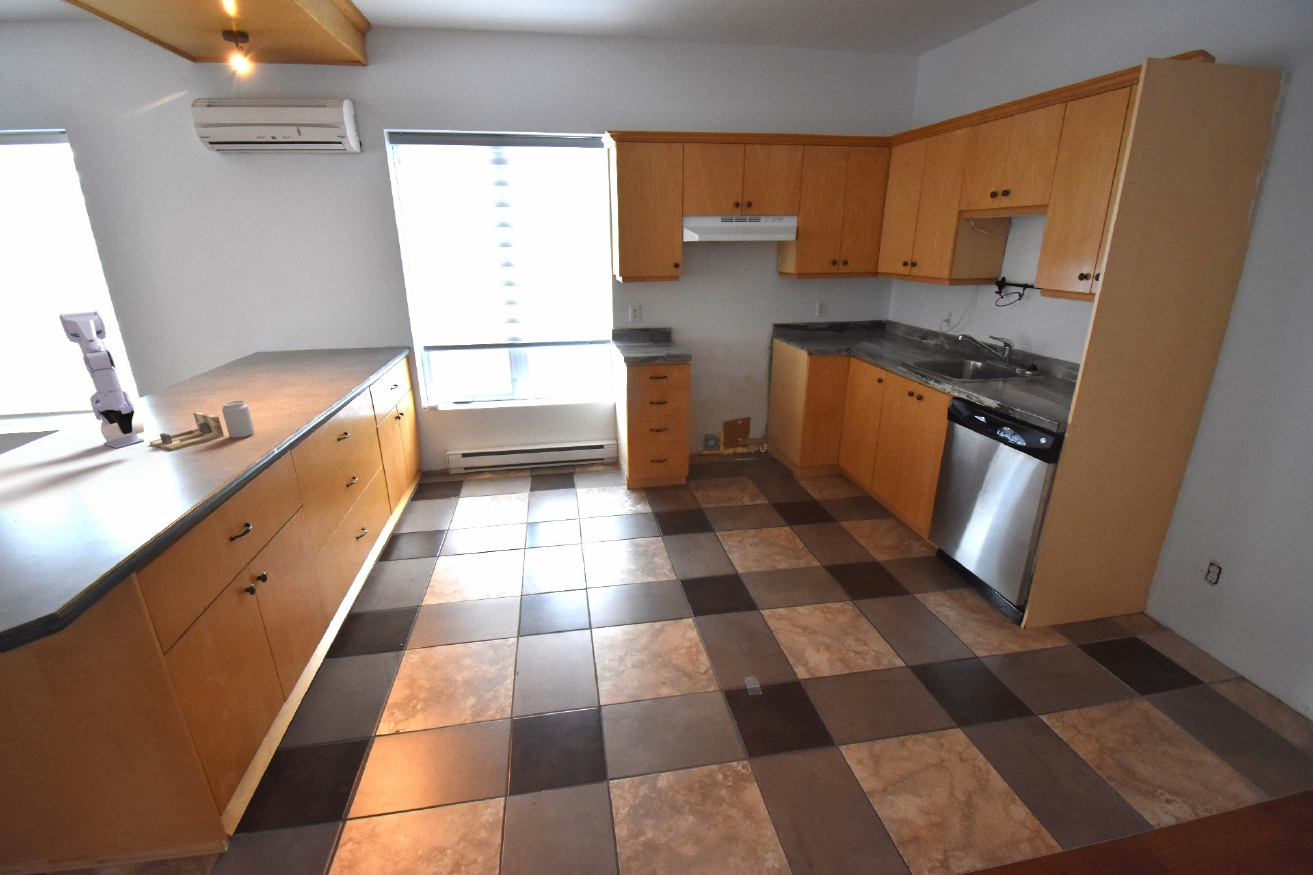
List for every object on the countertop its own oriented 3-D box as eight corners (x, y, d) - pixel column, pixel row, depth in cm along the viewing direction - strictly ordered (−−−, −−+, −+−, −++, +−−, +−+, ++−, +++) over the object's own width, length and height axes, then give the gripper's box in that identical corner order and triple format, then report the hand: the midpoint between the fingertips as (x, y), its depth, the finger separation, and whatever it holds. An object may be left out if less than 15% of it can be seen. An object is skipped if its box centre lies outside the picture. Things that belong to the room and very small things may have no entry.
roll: (104, 439, 186) (99, 425, 185) (138, 431, 194) (133, 417, 192) (111, 442, 184) (106, 427, 183) (145, 433, 192) (141, 419, 190)
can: (242, 439, 204) (233, 406, 199) (224, 438, 205) (214, 405, 201) (260, 432, 210) (251, 400, 206) (242, 431, 212) (233, 399, 208)
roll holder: (150, 444, 201) (143, 425, 199) (202, 430, 214) (196, 411, 212) (171, 450, 195) (165, 430, 192) (224, 435, 208) (218, 416, 206)
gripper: (82, 391, 184) (97, 432, 188) (104, 396, 177) (119, 439, 182) (110, 385, 190) (124, 426, 194) (132, 390, 183) (146, 432, 188)
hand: (123, 432), depth 188 cm, fingers closed on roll, 5 cm apart
